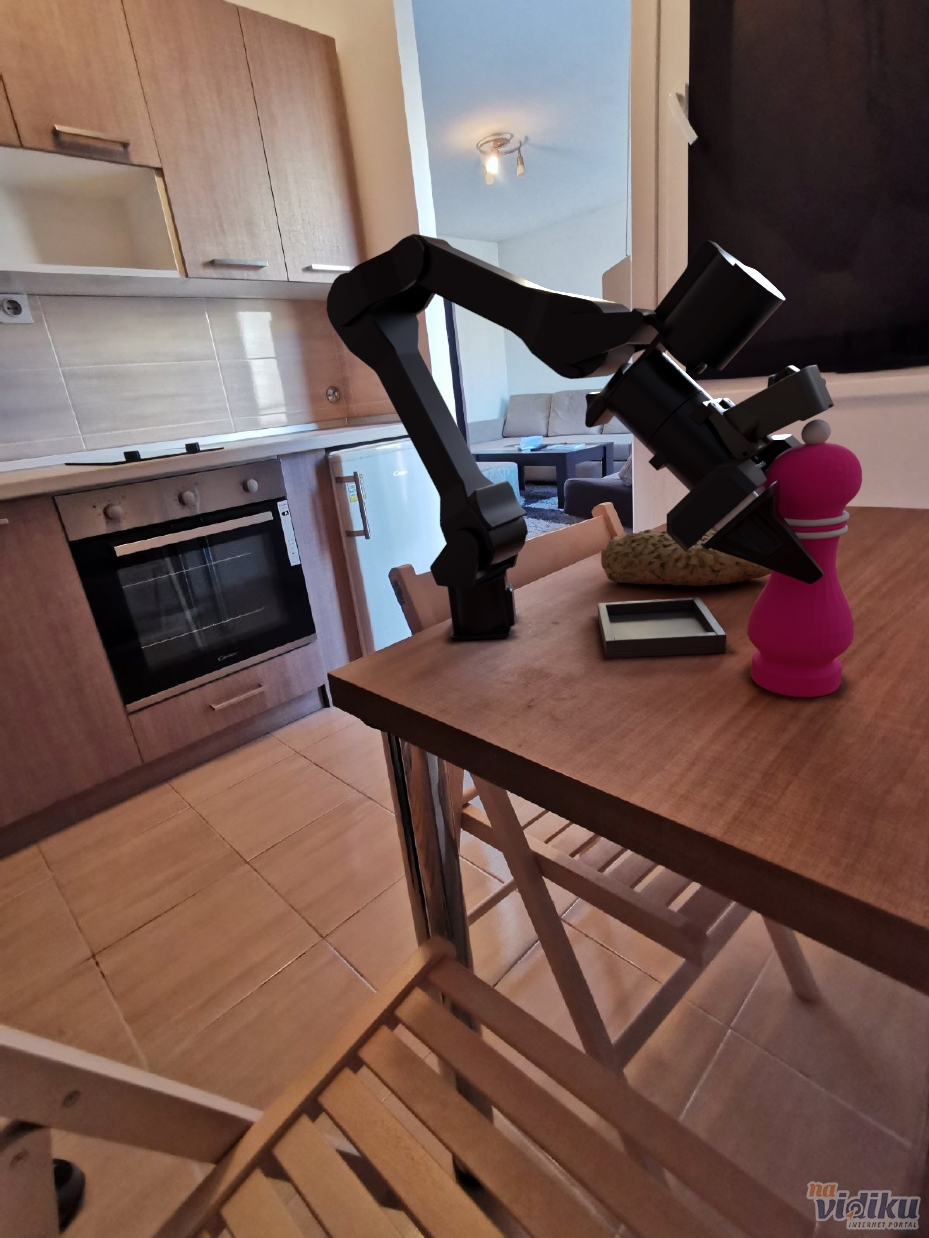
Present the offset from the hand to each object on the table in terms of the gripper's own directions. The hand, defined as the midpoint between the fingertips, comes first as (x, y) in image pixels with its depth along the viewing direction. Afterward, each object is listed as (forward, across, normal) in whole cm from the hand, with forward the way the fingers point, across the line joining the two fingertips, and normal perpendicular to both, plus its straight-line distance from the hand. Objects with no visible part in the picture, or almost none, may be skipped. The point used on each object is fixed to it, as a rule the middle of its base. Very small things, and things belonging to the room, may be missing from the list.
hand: (825, 566), depth 43 cm
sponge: (-5, +23, +18) cm, 30 cm away
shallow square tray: (-4, +5, +17) cm, 18 cm away
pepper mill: (+6, 0, +8) cm, 10 cm away
